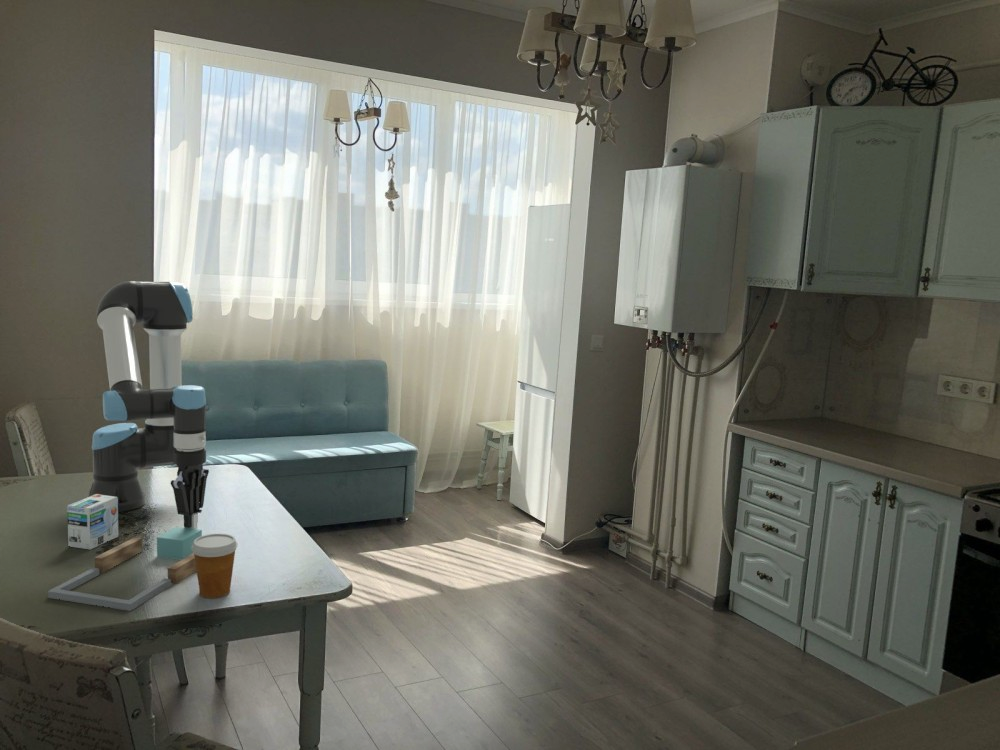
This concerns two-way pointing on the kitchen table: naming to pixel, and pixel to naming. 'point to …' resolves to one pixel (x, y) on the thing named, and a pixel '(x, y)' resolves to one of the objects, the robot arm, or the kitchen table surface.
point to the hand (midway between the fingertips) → (191, 538)
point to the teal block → (177, 542)
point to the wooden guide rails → (135, 547)
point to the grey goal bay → (67, 595)
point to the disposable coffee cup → (214, 563)
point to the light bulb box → (92, 521)
